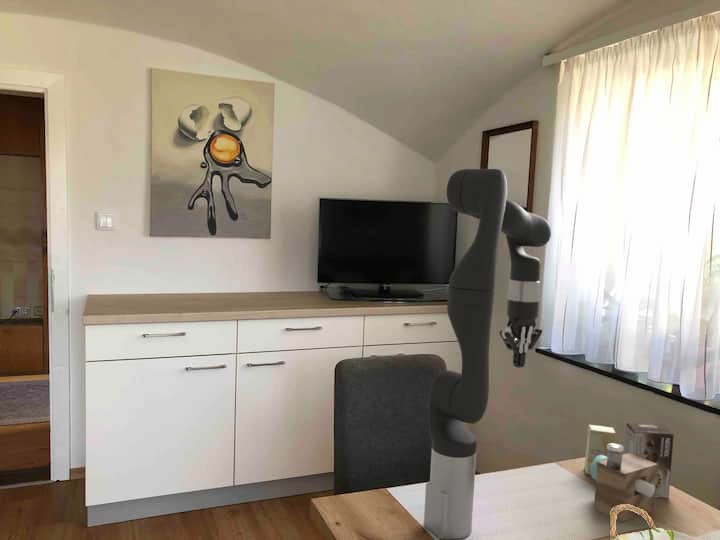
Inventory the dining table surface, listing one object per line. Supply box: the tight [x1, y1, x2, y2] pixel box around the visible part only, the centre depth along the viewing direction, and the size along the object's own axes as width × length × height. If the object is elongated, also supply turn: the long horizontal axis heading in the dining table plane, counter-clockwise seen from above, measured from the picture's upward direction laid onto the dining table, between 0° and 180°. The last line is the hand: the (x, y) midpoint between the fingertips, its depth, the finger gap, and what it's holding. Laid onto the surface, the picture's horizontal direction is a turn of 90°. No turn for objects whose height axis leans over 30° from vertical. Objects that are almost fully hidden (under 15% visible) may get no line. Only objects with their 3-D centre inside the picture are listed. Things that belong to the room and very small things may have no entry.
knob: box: [590, 455, 655, 497], centre depth 134 cm, size 6×14×6 cm, turn 30°
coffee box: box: [624, 422, 675, 499], centre depth 143 cm, size 9×6×16 cm
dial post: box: [607, 443, 625, 470], centre depth 131 cm, size 3×3×5 cm
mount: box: [593, 453, 658, 522], centre depth 134 cm, size 12×7×11 cm, turn 120°
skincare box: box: [583, 424, 617, 476], centre depth 153 cm, size 6×4×12 cm
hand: (518, 366), depth 146 cm, fingers closed
